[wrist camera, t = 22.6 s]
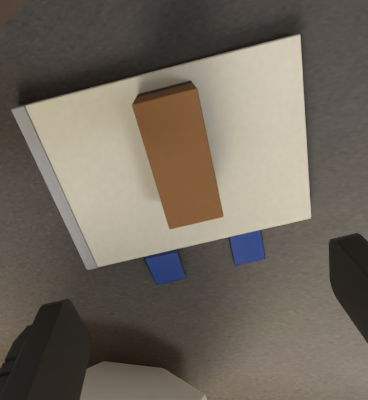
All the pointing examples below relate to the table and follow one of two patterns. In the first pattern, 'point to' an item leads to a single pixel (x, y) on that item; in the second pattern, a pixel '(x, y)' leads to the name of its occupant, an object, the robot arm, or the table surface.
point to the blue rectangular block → (165, 266)
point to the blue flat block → (247, 247)
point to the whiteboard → (140, 167)
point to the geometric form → (135, 384)
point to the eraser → (179, 153)
